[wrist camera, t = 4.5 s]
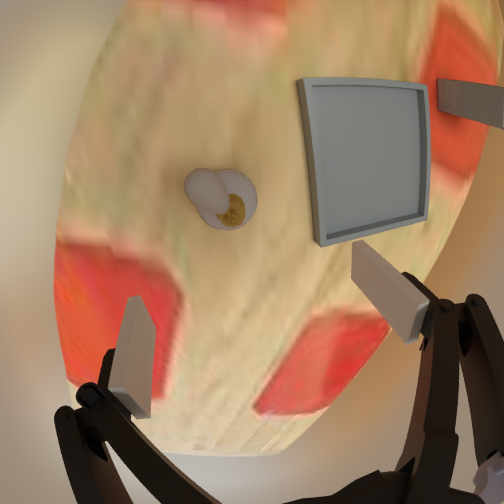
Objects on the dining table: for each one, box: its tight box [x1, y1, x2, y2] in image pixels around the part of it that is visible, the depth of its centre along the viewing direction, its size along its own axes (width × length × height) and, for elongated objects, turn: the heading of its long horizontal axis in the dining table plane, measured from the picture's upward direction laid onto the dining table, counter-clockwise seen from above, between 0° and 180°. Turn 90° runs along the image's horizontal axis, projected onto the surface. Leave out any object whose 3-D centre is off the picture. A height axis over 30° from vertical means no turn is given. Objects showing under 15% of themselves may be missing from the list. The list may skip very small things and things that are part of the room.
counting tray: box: [297, 78, 431, 247], centre depth 37 cm, size 24×22×2 cm
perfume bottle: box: [184, 168, 257, 230], centre depth 31 cm, size 8×10×12 cm
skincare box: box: [437, 79, 504, 130], centre depth 28 cm, size 8×7×16 cm
